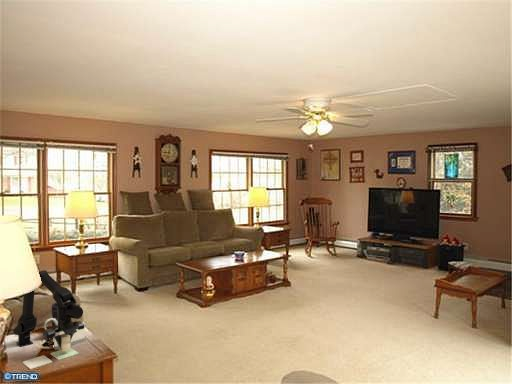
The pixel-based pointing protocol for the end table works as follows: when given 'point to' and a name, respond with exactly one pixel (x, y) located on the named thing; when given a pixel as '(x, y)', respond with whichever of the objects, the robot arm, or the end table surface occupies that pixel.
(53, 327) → the storage jar
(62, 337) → the block
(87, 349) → the end table surface
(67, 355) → the sage mat
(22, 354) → the end table surface
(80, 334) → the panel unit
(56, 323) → the watch
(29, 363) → the cream mat
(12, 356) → the end table surface
